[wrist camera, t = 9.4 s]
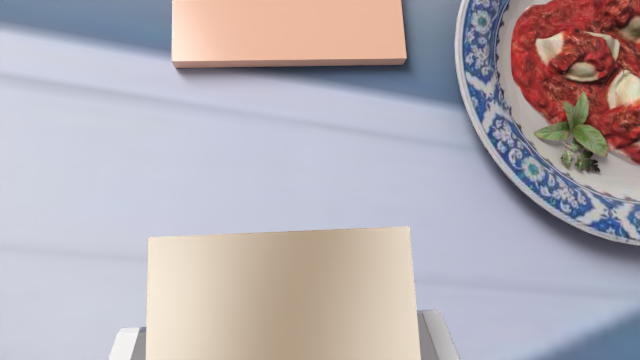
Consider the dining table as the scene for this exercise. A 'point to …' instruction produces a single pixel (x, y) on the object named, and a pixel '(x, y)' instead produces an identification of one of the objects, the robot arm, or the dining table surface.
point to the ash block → (283, 296)
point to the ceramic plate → (559, 103)
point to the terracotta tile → (287, 33)
